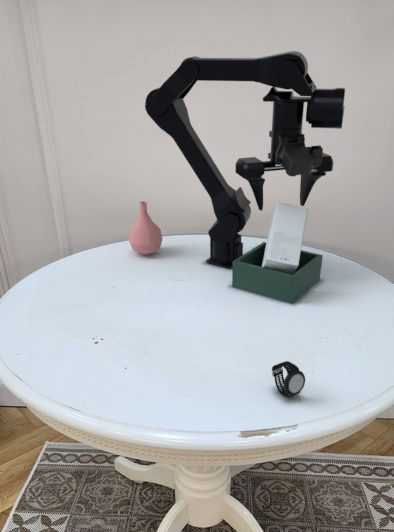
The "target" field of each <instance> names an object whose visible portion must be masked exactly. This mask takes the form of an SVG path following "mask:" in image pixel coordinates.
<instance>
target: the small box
mask: <svg viewBox="0 0 394 532" xmlns="http://www.w3.org/2000/svg"><path fill="white" fill-rule="evenodd" d="M308 212H309V208H307V207H304V206H298V205H295V204H289V203H284V202H279V201H278V202H276V206H275V208H274V209H273V213H272V216H271V220H270V224H269V229H268V233H267V238H266V248H265V253H264V258H263V263H262V267H264V268H268V269H272V270H276V271H280V272H284V273H288V274H292V275H293V274H294V273H295V271H296V269H297V267H298V265H299V259H300V253H301V250H302V247H303V246H302V245H303V241H304V235H305V228H306V222H307V216H308Z"/></svg>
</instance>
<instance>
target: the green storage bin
mask: <svg viewBox="0 0 394 532" xmlns="http://www.w3.org/2000/svg"><path fill="white" fill-rule="evenodd" d="M266 243H267V241H263V242H261V243H260V244H258V245H256V246H255V247H253V248H252V249H250V250H248V251H247V252H245V253H244V254H243V255H242V256H240V257H239V258H237V259H236V260H234V261H233V267H232V268H231V269H232V273H231V274H232V276H231V277H232V278H231V287H232V288H234V289H235V288H236V289H239V290H242V291H247V292H249V293H253V294H257V295H260V296H262V297H263V296H264V297H267V298H271V299H274V300H277V301H281V302H285V303H288V304H294V303H295V302H296V301H298V300H299V298H301V297H302V296H303V295H304V294H305V293H307V292H308V291H309V290H310V289H312V288H313V287H314V286H315V285H316V284H317V283H318V282H319V281H321V273H322V266H323V265H322V264H323V257H324V255H323V254H319V253H315V252H312V251H307V250H302V249H301V253H300V259H299V265H298V267H297V269H296V271H295V273H294V274H293V275H292V274H288V273H284V272H280V271H276V270H272V269H268V268H264V267H262V263H263V258H264V253H265V248H266Z"/></svg>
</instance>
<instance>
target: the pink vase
mask: <svg viewBox="0 0 394 532" xmlns="http://www.w3.org/2000/svg"><path fill="white" fill-rule="evenodd" d="M128 242H129V244H130V247H131V250H132V251H133V252H134V253H137V254H142V256H150V255H152V254H153V253H156V252H158V251H159V250H161V246H162V242H163V235H162V230H161V228H160V227H159V226H158V224H157V223H155V222H154V221H153V220H152V218H151V216H150V215H149V213H148V203H147V201H140V202H139V215H138V217H137V220H136V222H134V224H133V226H132V227H131V228H130V229H129V235H128Z"/></svg>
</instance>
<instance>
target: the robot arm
mask: <svg viewBox="0 0 394 532" xmlns="http://www.w3.org/2000/svg"><path fill="white" fill-rule="evenodd" d="M308 71H309V63H308V61H307V57H305V56H304V54H303V53H302V52H300V51H296V50H291V51H285V52H280V53H276V54H271V55H267V56H262V57H199V56H189V57H187V58H185V59H183V60H182V62H181V63H180V65H179V66H178V67H177V68H176V70H175V71H174V72H173V73H172V74H171V75H170V76H169V77H168V78H166V80H165V81H164V82H163V83H162V84H161V85H160V87H157V88H154V89H152V90H150V92H149V93H148V94H147V95H146V98H145V102H144V108H145V111H146V114H147V115H148V116H149V118H150V119H151V120H152V121H153V122H154V123H155V125H156V126H158V128H159V129H160V130H162V131H163V132H164V133H166V134H167V135H168V136H170V138H172V139H173V141H174V143H175V144H176V146H177V148H178V149H179V150H180V152H181V154H182V155H183V157H184V159H185V161H187V163H188V164H189V166H190V167H191V169H192V171H193V173H194V174H195V176H196V177H197V178H198V180H199V183H200V184H201V185H202V186H203V188H204V189H205V191H206V192H207V194H208V196H209V198H210V201H211V205H212V209H213V213H214V215H215V218H216V220H215V222H213V224H212V226H211V227H210V228H209V229H208V232H207V233H208V236H209V258H207V259H206V260H205V262H206V264H211V265H215V266H218V267H222V268H225V269H233V261H234V260H236V259H237V258H239V257H240V256H242V255H244V254H243V253H244V242H242V237H243V236H242V234H239V233H240V232H242V231H243V230H244V228H245V226H246V225H247V223H248V222H249V220H250V218H251V214H252V209H251V206H250V204H251V202H252V201H251V200H249V199H248V198H247V196H246V194H245V193H244V190H243V188H242V187H241V186H239V187H238V188H237V189H234V188H233V187H232V186H231V185H229V183H228V182H227V181H226V178H225V177H224V175H223V174H222V173H221V171H220V169H219V168H218V166H217V165H216V163H215V161H214V159H213V158H212V156H211V155H210V153H209V151H208V149H207V148H206V147H205V145H204V143H203V141H202V140H201V139H200V137H199V135H198V133H197V132H196V131H195V129H194V127H193V126H192V123H191V120H190V116H189V112H188V108H187V106H186V102H185V100H184V98H186V97H187V95H188V94H189V93H190V91H191V90H192V89H193V88H194V86H195V85H196V84H197V82H198V81H206V82H255V83H259V84H263V85H265V86H269V87H270V89H269V91H268V92H267V94H266V95H264V96H263V97H262V102H264V103H265V102H266V103H267V102H271V103H272V119H271V130H269V133H268V137H269V138H270V152H268V153H267V159H269V160H264V161H262V160H261V159H259V158H258V157H256V156H251V157H240V158H238V159H237V160H236V162H235V174H237V175H238V176H240V177H241V178H242V179H244V180H245V181H247V182H248V184H249V186H250V188H251V191H252V194H253V196H254V199H255V202H256V205H257V208H258V210H259V211H263V208H264V185H265V182H266V179H265V178H264V177H263V176H264V174H265V172H274V171H275V172H276V171H285V173H286V175H287V176H289V177H296V176H300V181H299V182H300V183H299V205H300V207H304V206H305V205H306V203H307V200H308V198H309V197H310V194H311V191H312V189H313V187H314V186H315V184H316V183H317V181H318V180H319V179H321V178H322V177H325V176H326V175H327V173H328V172H332V171H333V170H334V159H333V157H332V155H329V154H327V153H325V152H324V149H323V148H322V146H321V145H311V146H306V142H305V140H306V138H305V134H304V133H303V122H304V121H303V120H304V110H305V103H306V111H305V112H306V113H305V122H306V123H308V125H310V129H311V128H312V129H343V122H344V114H345V105H344V104H345V94H346V88H345V87H336V88H335V87H334V88H317V86H316V84H315V81H313V79H312V77H311V75H310V74H309V72H308ZM278 89H282V90H278ZM294 93H296V94H297V95H299V96H294Z"/></svg>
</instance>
